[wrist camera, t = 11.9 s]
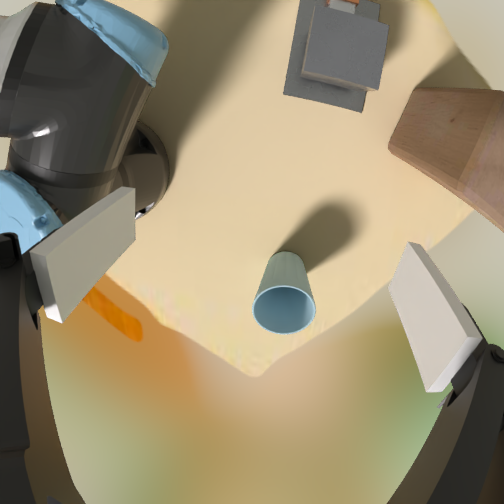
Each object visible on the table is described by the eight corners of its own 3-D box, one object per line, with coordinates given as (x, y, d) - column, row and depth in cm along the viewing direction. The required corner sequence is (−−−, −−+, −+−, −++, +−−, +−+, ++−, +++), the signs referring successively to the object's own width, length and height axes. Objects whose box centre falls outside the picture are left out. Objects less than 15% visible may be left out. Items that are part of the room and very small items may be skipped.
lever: (283, 94, 34) (282, 92, 27) (305, -32, 25) (308, -56, 18) (360, 112, 33) (376, 115, 27) (381, -12, 24) (398, -31, 18)
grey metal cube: (309, 23, 26) (315, 4, 20) (369, 38, 26) (389, 25, 19) (300, 77, 30) (303, 70, 23) (359, 91, 29) (378, 90, 23)
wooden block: (412, 85, 30) (507, 86, 13) (466, 125, 31) (565, 158, 14) (383, 148, 35) (458, 196, 18) (438, 183, 36) (522, 249, 19)
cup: (270, 236, 43) (264, 276, 34) (319, 254, 44) (326, 297, 34) (253, 278, 47) (244, 323, 38) (299, 293, 47) (300, 340, 38)
